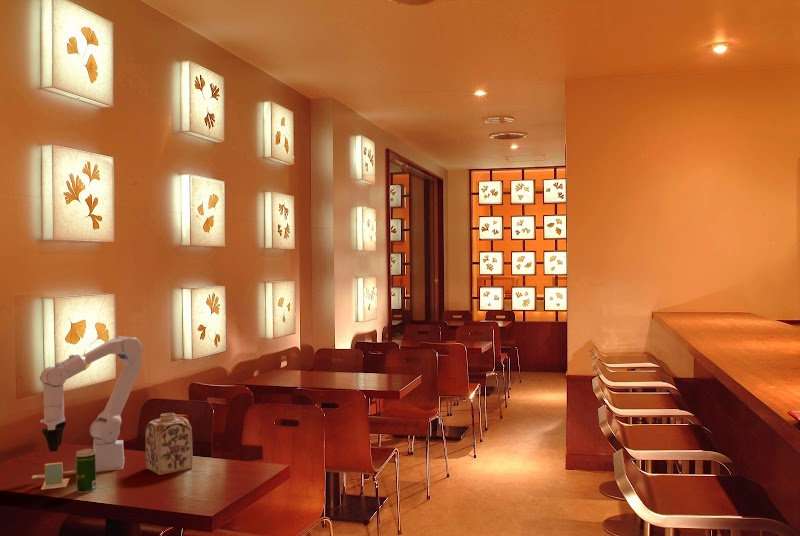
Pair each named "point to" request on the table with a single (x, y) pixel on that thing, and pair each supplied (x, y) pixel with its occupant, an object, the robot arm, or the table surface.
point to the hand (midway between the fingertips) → (55, 448)
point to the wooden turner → (44, 475)
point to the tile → (53, 473)
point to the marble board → (64, 484)
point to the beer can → (86, 470)
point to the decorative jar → (169, 444)
